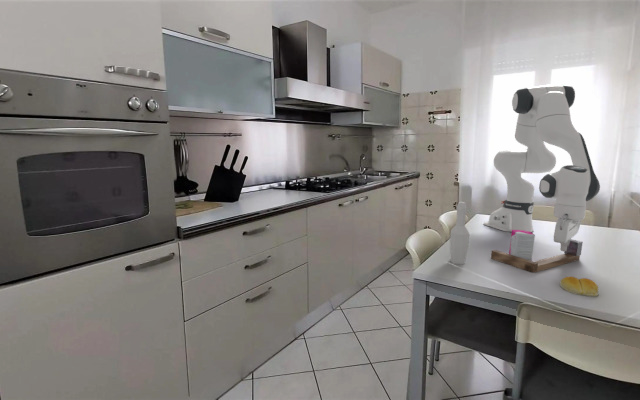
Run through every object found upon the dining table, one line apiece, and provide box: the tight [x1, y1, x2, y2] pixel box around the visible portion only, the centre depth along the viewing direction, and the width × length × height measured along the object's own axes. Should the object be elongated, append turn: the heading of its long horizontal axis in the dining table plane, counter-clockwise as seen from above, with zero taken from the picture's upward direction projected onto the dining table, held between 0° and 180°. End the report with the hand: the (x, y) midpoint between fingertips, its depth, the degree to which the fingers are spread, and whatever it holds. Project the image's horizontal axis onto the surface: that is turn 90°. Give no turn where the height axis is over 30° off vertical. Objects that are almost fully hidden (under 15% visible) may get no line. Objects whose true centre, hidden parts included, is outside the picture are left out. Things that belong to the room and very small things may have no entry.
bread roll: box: [559, 276, 599, 297], centre depth 98 cm, size 8×9×4 cm
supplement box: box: [508, 230, 536, 261], centre depth 120 cm, size 6×6×12 cm
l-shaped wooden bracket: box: [490, 238, 583, 273], centre depth 123 cm, size 16×28×7 cm, turn 117°
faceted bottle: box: [449, 201, 470, 265], centre depth 119 cm, size 6×6×22 cm
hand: (564, 250), depth 121 cm, fingers closed
